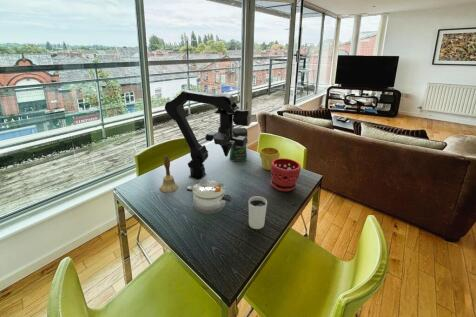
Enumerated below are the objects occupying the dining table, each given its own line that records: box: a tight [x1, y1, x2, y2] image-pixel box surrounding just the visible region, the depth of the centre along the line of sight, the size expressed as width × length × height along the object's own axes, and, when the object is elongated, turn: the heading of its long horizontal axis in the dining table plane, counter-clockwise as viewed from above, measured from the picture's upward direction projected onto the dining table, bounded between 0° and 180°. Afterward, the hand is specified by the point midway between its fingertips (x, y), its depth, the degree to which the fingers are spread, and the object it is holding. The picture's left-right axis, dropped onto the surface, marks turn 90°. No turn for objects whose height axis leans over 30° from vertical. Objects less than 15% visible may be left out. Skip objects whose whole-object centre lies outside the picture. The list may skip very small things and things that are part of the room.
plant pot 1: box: [259, 146, 281, 171], centre depth 135 cm, size 10×10×10 cm
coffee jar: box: [229, 127, 249, 162], centre depth 143 cm, size 10×8×19 cm
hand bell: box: [159, 155, 179, 193], centre depth 114 cm, size 8×8×16 cm
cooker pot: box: [185, 185, 234, 215], centre depth 105 cm, size 20×14×6 cm
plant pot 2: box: [270, 157, 302, 192], centre depth 117 cm, size 13×13×12 cm
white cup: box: [248, 195, 268, 230], centre depth 93 cm, size 7×7×10 cm
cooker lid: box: [192, 180, 226, 199], centre depth 102 cm, size 13×13×2 cm
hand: (226, 155), depth 118 cm, fingers closed
